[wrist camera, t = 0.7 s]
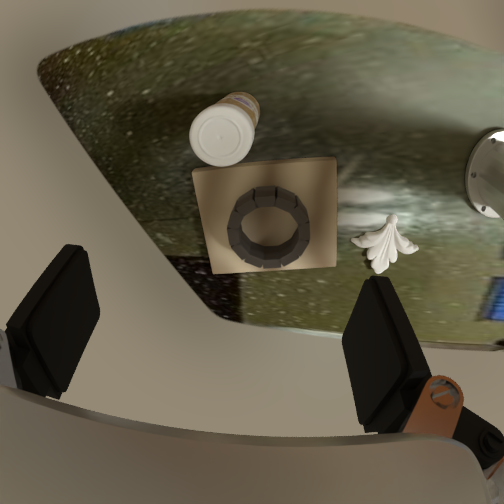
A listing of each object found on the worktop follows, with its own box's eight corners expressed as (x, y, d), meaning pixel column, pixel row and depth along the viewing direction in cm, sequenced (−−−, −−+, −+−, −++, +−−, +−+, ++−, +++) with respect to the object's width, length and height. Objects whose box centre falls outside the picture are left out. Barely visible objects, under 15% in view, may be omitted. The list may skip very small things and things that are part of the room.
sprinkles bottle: (265, 97, 32) (260, 115, 20) (254, 135, 34) (243, 175, 23) (223, 86, 31) (194, 99, 20) (213, 125, 34) (182, 160, 22)
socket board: (334, 156, 35) (341, 168, 31) (334, 259, 42) (339, 280, 38) (194, 168, 37) (185, 181, 33) (214, 267, 44) (209, 288, 40)
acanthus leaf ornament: (416, 244, 41) (421, 251, 39) (377, 271, 44) (380, 279, 42) (390, 206, 38) (395, 213, 37) (348, 237, 41) (351, 245, 39)
